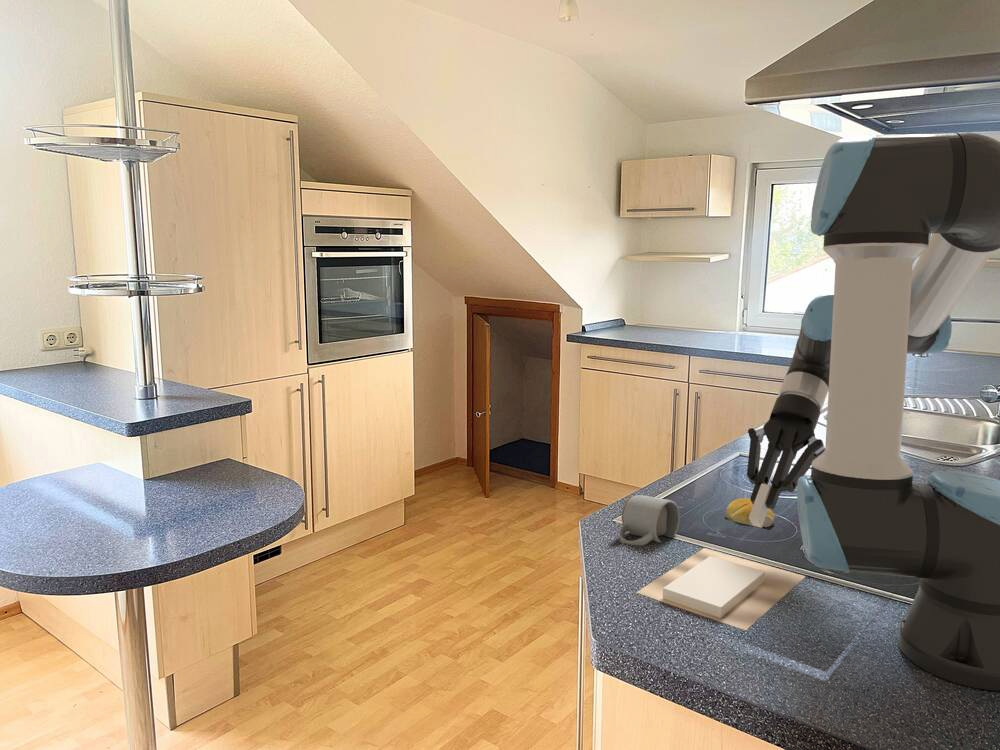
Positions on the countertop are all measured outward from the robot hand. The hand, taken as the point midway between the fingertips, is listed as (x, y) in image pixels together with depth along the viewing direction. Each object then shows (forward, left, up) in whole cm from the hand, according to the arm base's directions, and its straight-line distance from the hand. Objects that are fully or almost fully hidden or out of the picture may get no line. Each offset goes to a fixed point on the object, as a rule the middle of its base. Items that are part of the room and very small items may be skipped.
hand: (755, 522), depth 122 cm
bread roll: (+19, -9, -8) cm, 22 cm away
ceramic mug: (+13, +14, -8) cm, 20 cm away
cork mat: (-7, +9, -7) cm, 14 cm away
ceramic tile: (-4, +5, -6) cm, 9 cm away
